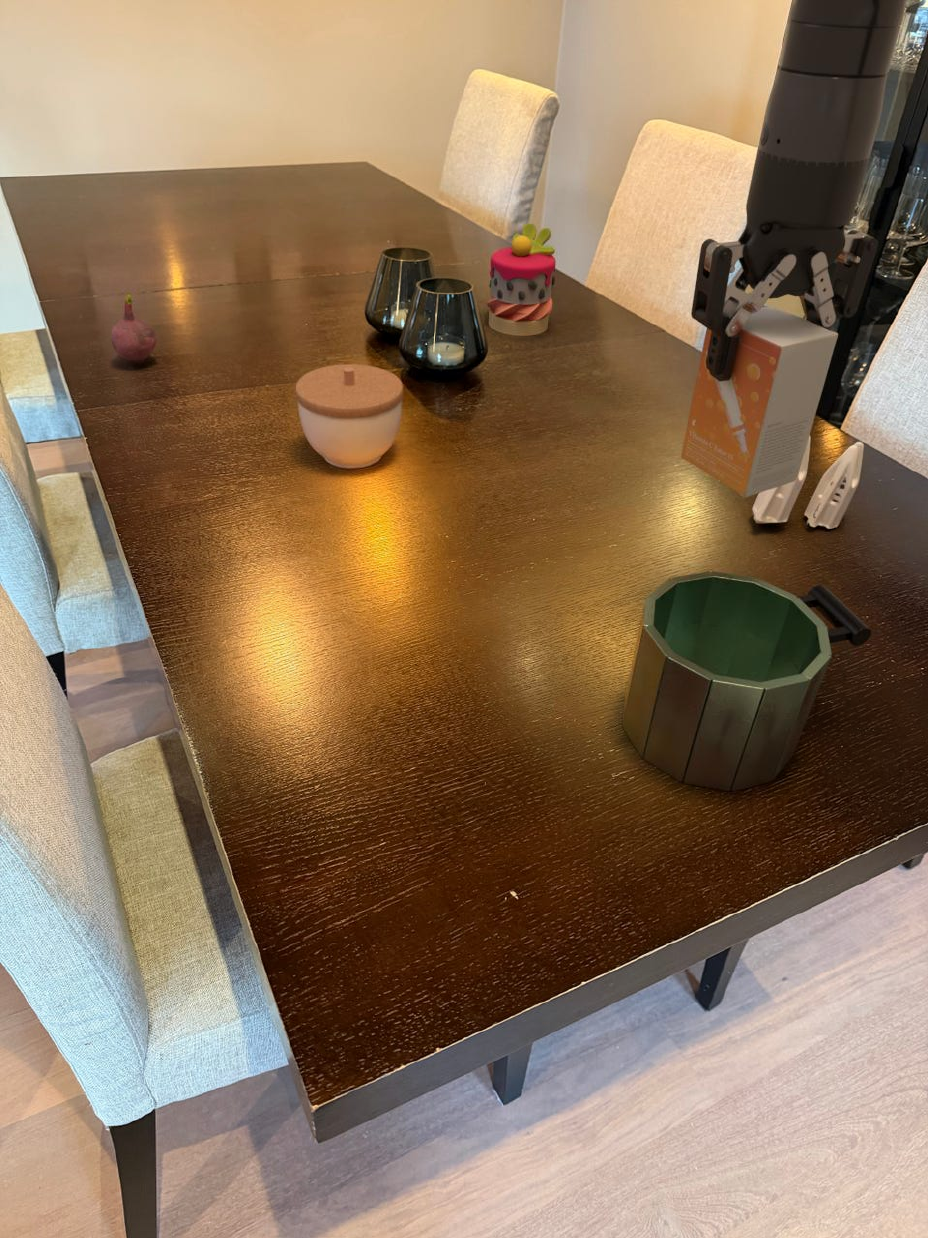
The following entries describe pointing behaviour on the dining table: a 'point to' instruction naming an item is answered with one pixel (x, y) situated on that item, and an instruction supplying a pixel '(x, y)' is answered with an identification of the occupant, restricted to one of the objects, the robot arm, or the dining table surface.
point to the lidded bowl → (350, 412)
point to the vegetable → (133, 336)
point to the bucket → (729, 676)
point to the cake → (522, 284)
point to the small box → (760, 403)
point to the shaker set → (826, 498)
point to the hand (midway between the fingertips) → (760, 372)
